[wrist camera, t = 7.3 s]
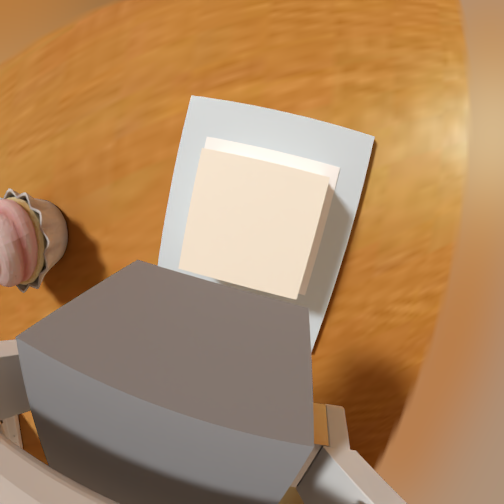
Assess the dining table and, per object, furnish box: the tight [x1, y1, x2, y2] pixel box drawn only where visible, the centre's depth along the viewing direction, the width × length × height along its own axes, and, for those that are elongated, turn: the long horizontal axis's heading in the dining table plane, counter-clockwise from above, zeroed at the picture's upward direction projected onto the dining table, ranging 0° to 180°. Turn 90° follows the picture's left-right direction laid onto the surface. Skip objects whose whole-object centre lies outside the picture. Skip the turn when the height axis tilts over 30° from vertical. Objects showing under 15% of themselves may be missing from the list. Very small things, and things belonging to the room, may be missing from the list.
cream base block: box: [178, 148, 330, 300], centre depth 22 cm, size 8×8×4 cm
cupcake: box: [0, 188, 68, 293], centre depth 23 cm, size 9×9×10 cm
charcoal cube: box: [16, 260, 314, 504], centre depth 7 cm, size 5×5×5 cm
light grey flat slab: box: [158, 95, 374, 352], centre depth 25 cm, size 18×14×1 cm
